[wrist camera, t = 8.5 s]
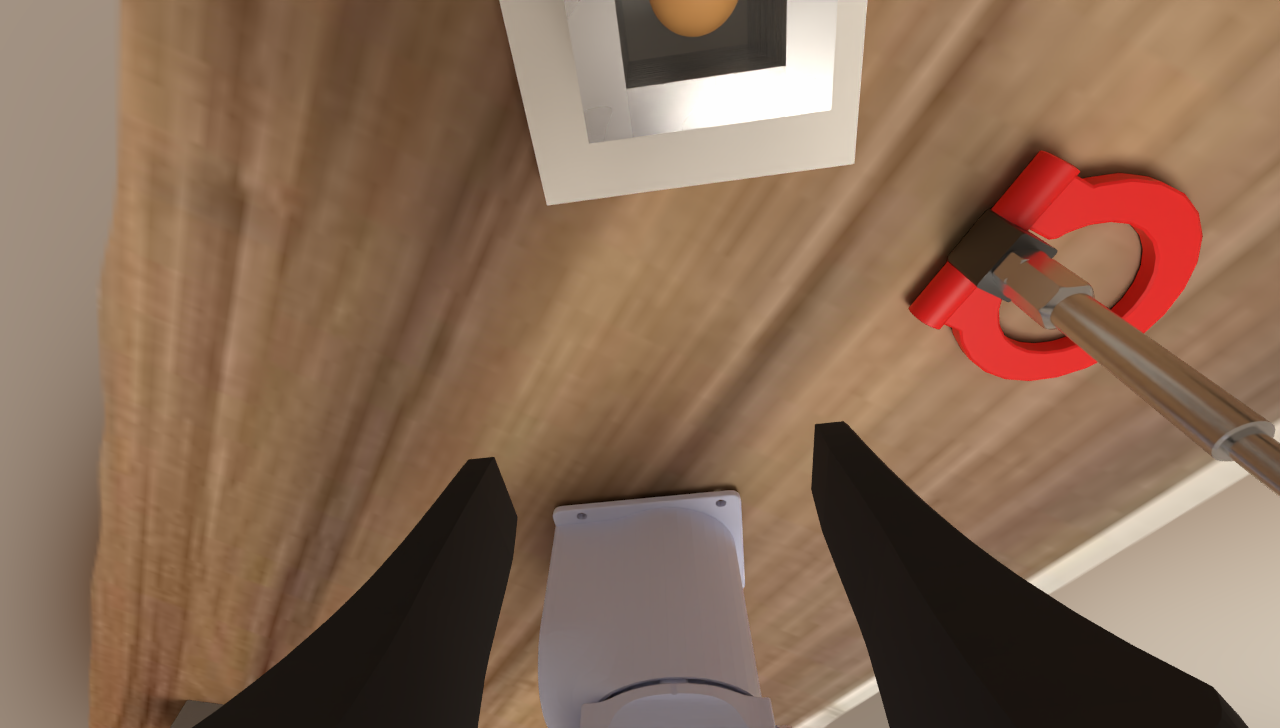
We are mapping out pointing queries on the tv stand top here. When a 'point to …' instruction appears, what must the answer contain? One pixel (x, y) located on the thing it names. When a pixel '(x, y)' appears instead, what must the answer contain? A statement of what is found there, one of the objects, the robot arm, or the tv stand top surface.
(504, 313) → the tv stand top surface
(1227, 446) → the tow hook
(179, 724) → the dice cube
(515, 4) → the plate
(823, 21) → the hollow square tube
